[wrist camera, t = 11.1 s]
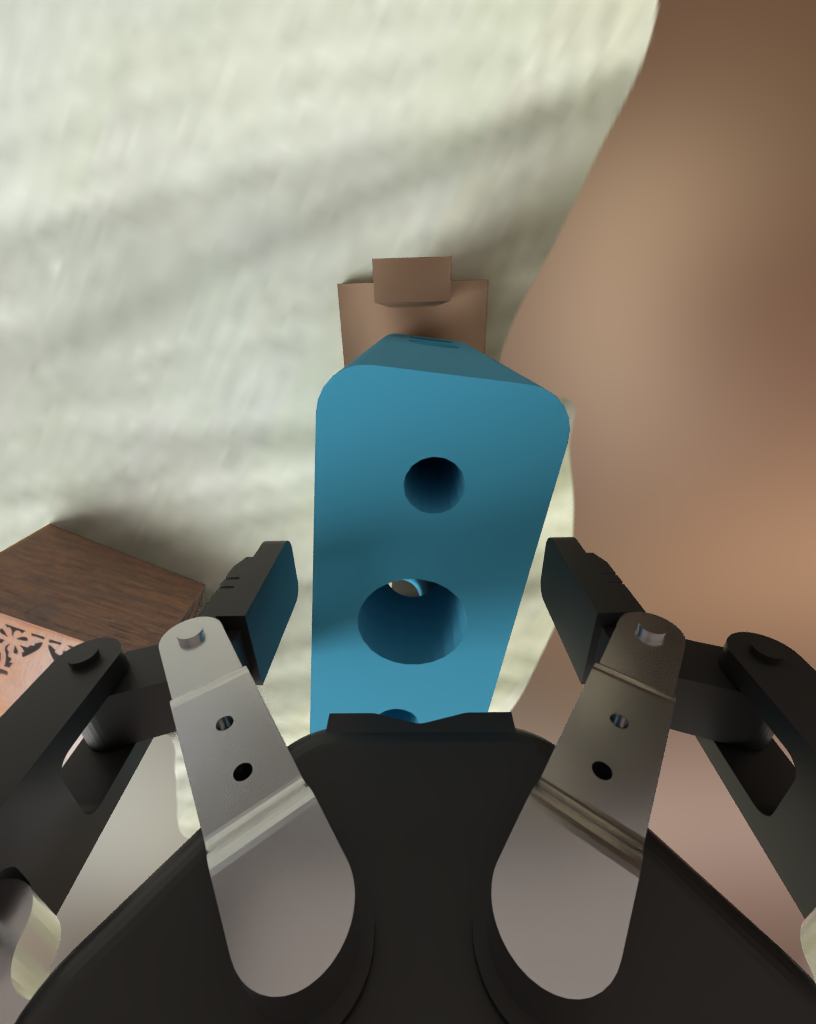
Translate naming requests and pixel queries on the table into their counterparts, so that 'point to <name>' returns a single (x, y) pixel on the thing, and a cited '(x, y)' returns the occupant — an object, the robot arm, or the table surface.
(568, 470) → the table surface
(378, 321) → the peg stand
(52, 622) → the tissue box cover
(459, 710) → the block
